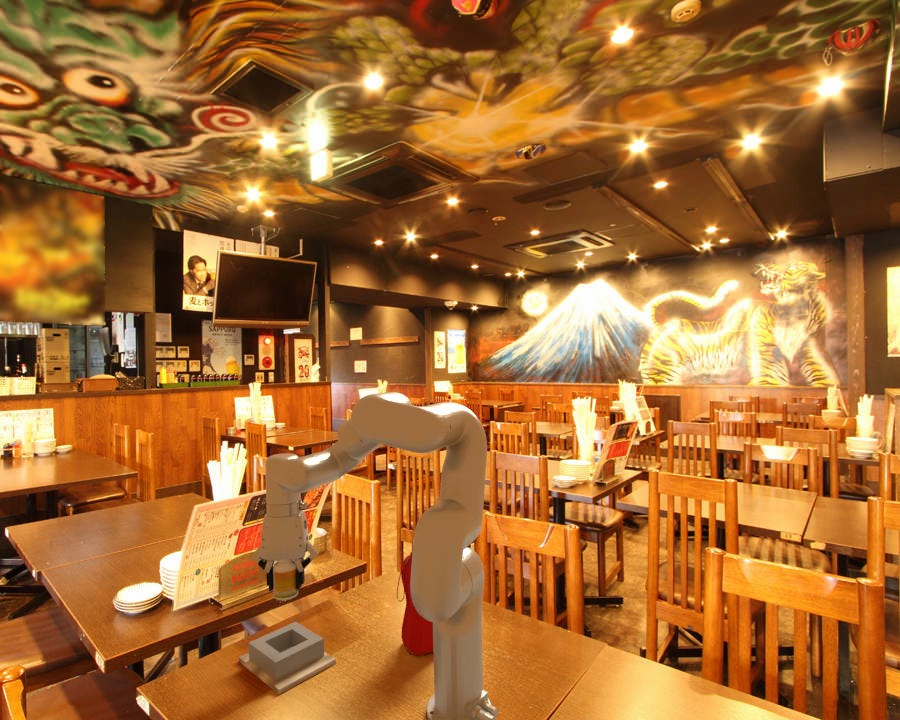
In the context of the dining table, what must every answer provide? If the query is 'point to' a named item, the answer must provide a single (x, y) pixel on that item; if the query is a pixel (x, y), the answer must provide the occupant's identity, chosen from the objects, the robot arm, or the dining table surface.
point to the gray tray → (292, 678)
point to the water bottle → (414, 617)
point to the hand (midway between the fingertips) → (285, 586)
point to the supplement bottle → (284, 579)
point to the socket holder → (282, 664)
